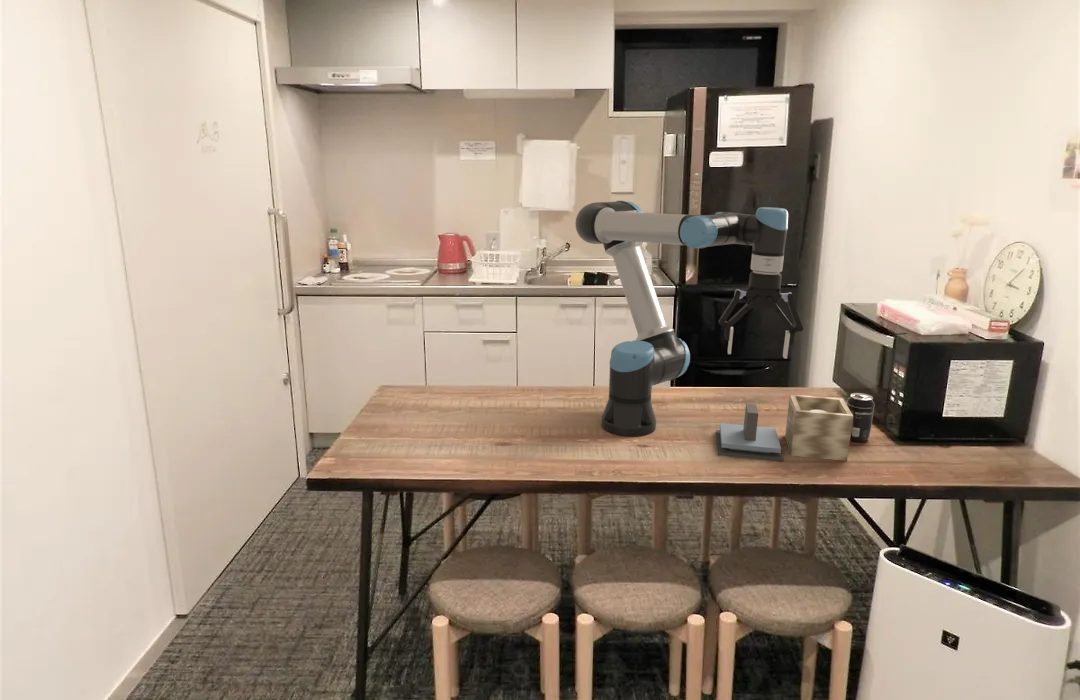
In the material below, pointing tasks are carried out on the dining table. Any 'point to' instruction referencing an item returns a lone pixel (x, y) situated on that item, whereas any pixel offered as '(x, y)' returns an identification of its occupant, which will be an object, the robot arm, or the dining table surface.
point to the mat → (746, 452)
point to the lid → (749, 434)
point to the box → (818, 427)
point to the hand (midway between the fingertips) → (756, 355)
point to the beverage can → (861, 415)
